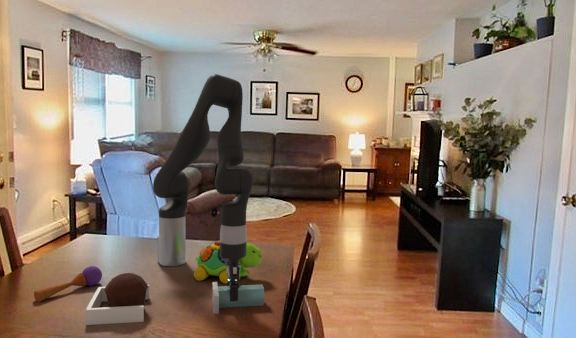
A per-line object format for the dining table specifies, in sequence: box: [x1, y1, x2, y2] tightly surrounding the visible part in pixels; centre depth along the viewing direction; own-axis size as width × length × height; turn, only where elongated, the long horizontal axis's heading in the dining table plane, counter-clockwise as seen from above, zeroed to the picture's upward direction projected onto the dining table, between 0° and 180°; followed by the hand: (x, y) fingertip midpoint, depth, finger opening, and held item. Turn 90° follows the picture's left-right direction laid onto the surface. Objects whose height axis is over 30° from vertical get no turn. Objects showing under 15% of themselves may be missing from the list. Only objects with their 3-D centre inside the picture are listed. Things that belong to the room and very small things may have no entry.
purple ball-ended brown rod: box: [33, 265, 103, 303], centre depth 141 cm, size 6×6×20 cm
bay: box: [85, 284, 150, 326], centre depth 128 cm, size 14×16×4 cm
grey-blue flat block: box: [211, 281, 265, 315], centre depth 134 cm, size 14×11×5 cm
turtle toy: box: [193, 239, 263, 285], centre depth 158 cm, size 17×23×12 cm
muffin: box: [104, 272, 149, 307], centre depth 128 cm, size 12×11×10 cm
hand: (232, 295), depth 134 cm, fingers open, 8 cm apart
